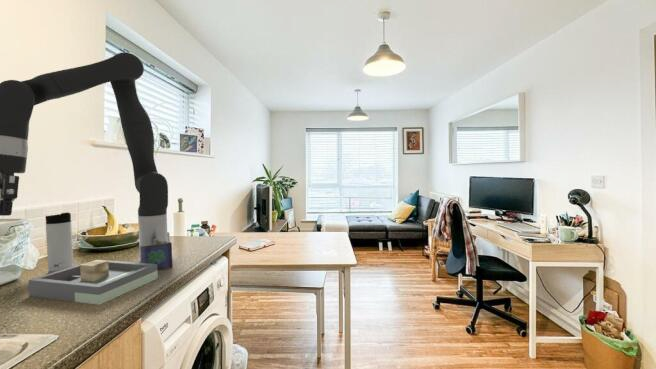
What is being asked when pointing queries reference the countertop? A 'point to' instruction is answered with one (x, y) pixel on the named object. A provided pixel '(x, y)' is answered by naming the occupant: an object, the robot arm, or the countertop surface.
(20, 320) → the countertop surface
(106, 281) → the tray
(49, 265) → the travel mug
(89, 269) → the maple cube
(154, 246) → the flask
